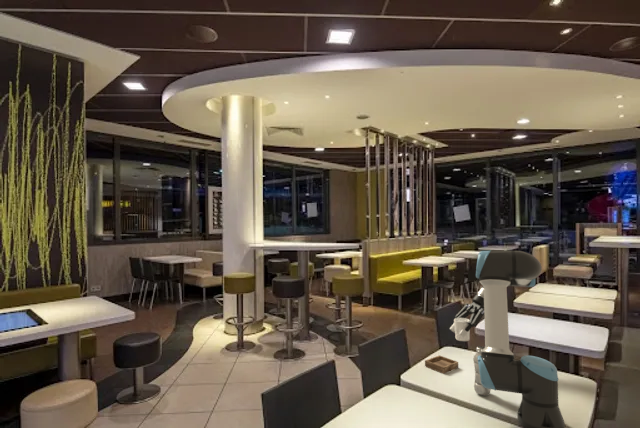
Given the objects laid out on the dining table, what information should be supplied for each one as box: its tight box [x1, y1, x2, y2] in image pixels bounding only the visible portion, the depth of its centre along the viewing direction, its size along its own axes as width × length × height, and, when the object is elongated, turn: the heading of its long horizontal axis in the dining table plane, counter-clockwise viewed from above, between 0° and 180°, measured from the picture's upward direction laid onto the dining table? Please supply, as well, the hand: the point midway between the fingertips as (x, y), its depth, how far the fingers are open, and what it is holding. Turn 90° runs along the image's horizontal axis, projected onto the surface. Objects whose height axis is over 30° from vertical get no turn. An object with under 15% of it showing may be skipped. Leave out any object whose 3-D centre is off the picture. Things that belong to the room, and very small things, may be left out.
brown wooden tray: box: [424, 355, 459, 375], centre depth 193 cm, size 12×12×3 cm
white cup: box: [453, 317, 471, 342], centre depth 196 cm, size 8×8×10 cm
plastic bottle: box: [472, 345, 492, 397], centre depth 164 cm, size 6×7×20 cm
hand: (456, 332), depth 196 cm, fingers closed on white cup, 8 cm apart
